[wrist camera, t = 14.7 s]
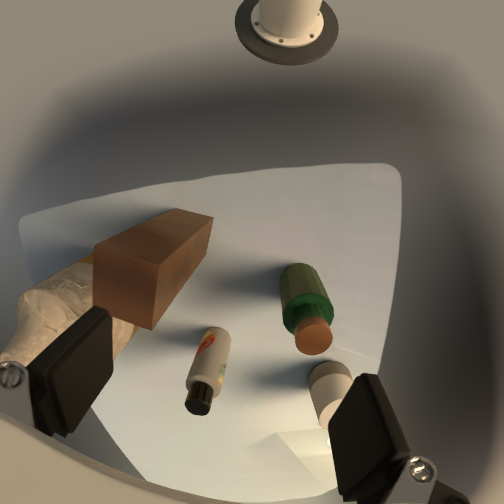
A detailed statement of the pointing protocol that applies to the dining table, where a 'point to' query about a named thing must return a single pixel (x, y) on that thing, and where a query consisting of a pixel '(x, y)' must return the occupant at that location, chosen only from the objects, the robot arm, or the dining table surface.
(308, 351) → the cork stopper
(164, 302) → the brown block
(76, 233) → the dining table surface
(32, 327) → the vase
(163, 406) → the dining table surface
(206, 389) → the lotion bottle
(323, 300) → the green bottle
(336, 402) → the smart speaker
